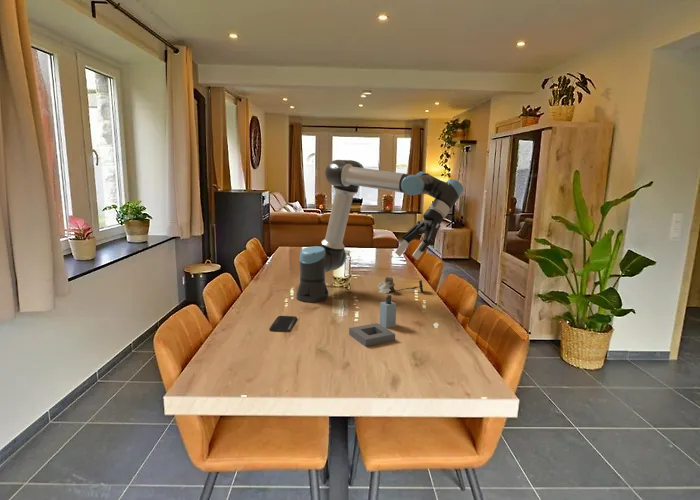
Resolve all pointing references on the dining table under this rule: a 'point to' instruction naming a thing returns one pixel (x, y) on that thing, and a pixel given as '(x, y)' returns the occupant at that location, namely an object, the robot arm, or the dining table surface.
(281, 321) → the phone
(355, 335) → the frame
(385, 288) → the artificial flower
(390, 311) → the connector plug
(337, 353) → the dining table surface
